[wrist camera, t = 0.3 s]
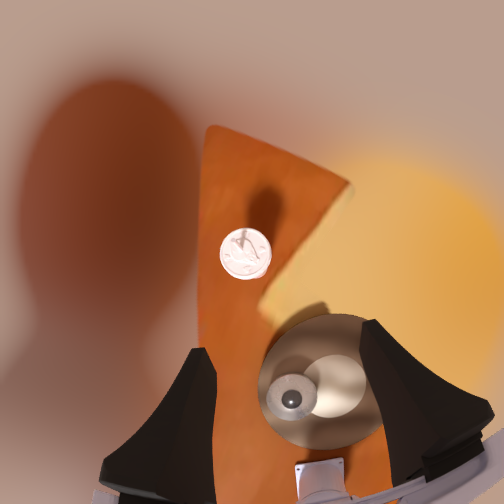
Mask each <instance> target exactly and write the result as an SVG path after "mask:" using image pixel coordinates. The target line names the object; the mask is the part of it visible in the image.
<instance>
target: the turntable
mask: <svg viewBox="0 0 504 504" xmlns="http://www.w3.org/2000/svg"><path fill="white" fill-rule="evenodd" d="M364 321H368V320H366V319H364V318H361V317H358V316H354V315H348V314H327V315H321V316H317V317H313V318H310V319H308V320H305V321H303V322H301V323H299V324H297V325H296V326H294V327H293V328H291V329H290V330H288V331H287V332H286V333H285V334H284V335H283V336H281V337H280V338H279V340H278V341H277V342H276V343H275V344H274V345H273V347H272V348H271V350H270V351H269V353H268V354H267V356H266V358H265V360H264V362H263V365H262V368H261V370H260V375H259V379H258V398H259V403H260V407H261V410H262V412H263V415H264V416H265V418H266V420H267V422H268V423H269V424H270V426H271V427H272V428H273V429H274V430H275V431H276V432H277V433H278V434H279V435H280V436H282V437H283V438H284V439H286V440H287V441H289V442H291V443H293V444H295V445H298V446H301V447H304V448H308V449H315V450H331V449H338V448H342V447H346V446H349V445H352V444H354V443H357V442H359V441H361V440H362V439H364V438H366V437H367V436H369V435H370V434H372V433H373V432H374V431H375V430H376V429H378V428H379V427H380V426H381V425H382V424H383V421H382V417H381V413H380V410H379V406H378V404H377V401H376V399H375V396H374V393H373V391H372V388H371V386H370V383H369V381H368V378H367V376H366V373H365V371H364V368H363V364H362V361H361V357H360V353H359V345H360V338H361V330H362V322H364ZM286 372H300V373H303V374H305V375H307V376H308V377H309V378H310V379H311V380H312V381H313V382H314V384H315V387H316V391H317V403H316V406H315V408H314V409H313V411H312V412H311V413H310V414H309V415H307V416H306V417H304V418H302V419H299V420H294V421H288V420H283V419H280V418H278V417H277V416H275V415H274V414H273V413H272V412H271V411H270V409H269V408H268V405H267V400H266V397H267V392H268V390H269V387H270V385H271V383H272V382H273V380H274V379H275V378H277V377H278V376H279V375H281V374H283V373H286Z"/></svg>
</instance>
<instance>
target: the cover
mask: <svg viewBox="0 0 504 504" xmlns="http://www.w3.org/2000/svg"><path fill="white" fill-rule="evenodd" d="M266 400H267V405H268V408H269V409H270V411H271V412H272V413H273V414H274V415H275V416H277V417H278V418H280V419H283V420H288V421H294V420H299V419H302V418H304V417H306V416H307V415H309V414H310V413H311V412H312V411H313V409H314V408H315V406H316V403H317V391H316V387H315V384H314V382H313V381H312V380H311V379H310V378H309V377H308V376H307V375H305V374H303V373H300V372H286V373H283V374H281V375H279V376H278V377H277V378H275V379H274V380H273V382H272V383H271V385H270V387H269V390H268V392H267V397H266Z"/></svg>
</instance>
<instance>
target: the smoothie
mask: <svg viewBox="0 0 504 504" xmlns="http://www.w3.org/2000/svg"><path fill="white" fill-rule="evenodd" d="M271 256H272V254H271V247H270V243H269V242H268V240H267V239H266V237H265V236H264V235H263V234H262V233H261V232H259V231H257V230H255V229H252V228H241V229H237V230H235V231H233V232H231V233H230V234H229V235H228V236H227V237H226V238H225V239H224V241H223V243H222V245H221V249H220V259H221V262H222V265H223V267H224V268H225V269H226V271H227V272H228V273H229V274H230V275H232V276H234V277H236V278H239V279H252V278H260V277H262V276H263V275H264V274H265V273H266V271H267V268H268V265H269V264H270V260H271Z"/></svg>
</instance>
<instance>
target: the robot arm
mask: <svg viewBox="0 0 504 504" xmlns="http://www.w3.org/2000/svg"><path fill="white" fill-rule="evenodd" d="M359 353H360V357H361V361H362V364H363V368H364V371H365V373H366V376H367V378H368V381H369V383H370V386H371V388H372V391H373V393H374V396H375V399H376V401H377V404H378V406H379V410H380V413H381V417H382V421H383V425H384V429H385V434H386V439H387V445H388V451H389V458H390V466H391V477H392V484H393V488H391V489H388V490H385V491H382V492H379V493H376V494H373V495H370V496H366V497H363V498H359V497H357V496H356V495H352V496H351V497H350V496H349V493H348V492H346V489H345V485H344V460H343V458H342V457H340V458H335V459H329V460H324V461H317V462H310V463H303V464H296V465H295V472H296V481H297V491H298V501H297V502H296V504H385V503H388V502H391V501H394V500H396V499H399V498H400V499H399V500H398V501H397V503H396V504H469V503H470V502H471V501H473V500H474V499H476V498H477V497H479V496H480V495H481V494H482V493H484V492H485V491H487V490H488V489H489V488H491V487H492V486H493V485H494V484H496V483H497V482H498V481H500V480H501V479H502V478H503V477H504V428H502V429H501V430H499V431H498V432H497V433H495V434H494V435H492V436H491V437H489V438H488V439H486V440H485V441H484V442H481V439H480V438H482V436H483V435H482V432H481V430H482V429H483V428H484V427H485V426H487V424H488V423H490V422H491V420H493V418H494V416H495V414H494V412H493V410H492V408H491V406H490V404H489V402H488V401H487V400H485V399H483V398H480V397H477V396H475V395H472V394H470V393H467V392H466V391H463V390H461V389H459V388H457V387H456V386H454V385H452V384H450V383H448V382H447V381H445V380H444V379H442V378H441V377H439V376H437V375H436V374H435V373H433V372H432V371H431V370H429V369H428V368H426V367H425V366H424V365H423V364H421V363H420V362H419V361H418V360H417V359H415V358H414V357H413V356H412V355H411V354H410V353H409V352H408V351H407V350H405V349H404V348H403V347H402V346H401V345H400V344H399V343H398V342H397V341H396V340H395V339H394V338H393V337H392V336H391V335H390V334H389V333H388V332H387V331H386V330H385V329H384V328H383V327H382V325H380V323H379V322H378V321H377V320H376V319H372V320H368V321H364V322H362V330H361V338H360V345H359ZM216 397H217V373H216V370H215V368H214V366H213V364H212V362H211V360H210V358H209V356H208V354H207V352H206V349H205V347H203V348H192V349H191V351H190V352H189V355H188V357H187V358H186V361H185V363H184V364H183V366H182V368H181V370H180V372H179V373H178V375H177V377H176V379H175V380H174V382H173V384H172V386H171V387H170V389H169V391H168V392H167V394H166V395H165V397H164V398H163V400H162V401H161V403H160V404H159V406H158V407H157V408H156V410H155V411H154V412H153V414H152V415H151V416H150V417H149V419H148V420H147V421H146V422H145V423H144V424H143V425H142V427H141V428H140V429H139V430H138V431H137V432H136V433H135V434H134V435H133V436H132V437H131V438H130V439H129V440H127V441H126V442H125V443H124V444H123V445H122V446H121V447H120V448H118V449H117V450H116V451H114V452H113V453H112V454H110V455H109V456H107V457H106V458H105V459H104V461H103V463H102V467H101V472H100V477H99V482H100V483H101V484H103V485H105V486H107V487H109V488H111V489H113V490H116V491H118V492H120V496H119V497H118V496H116V495H112V494H109V493H106V492H103V491H100V490H97V489H95V490H94V494H93V500H92V504H217V502H216V494H215V486H214V474H213V456H212V434H213V424H214V415H215V406H216ZM339 462H341V463H339ZM297 468H299V469H297Z"/></svg>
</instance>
